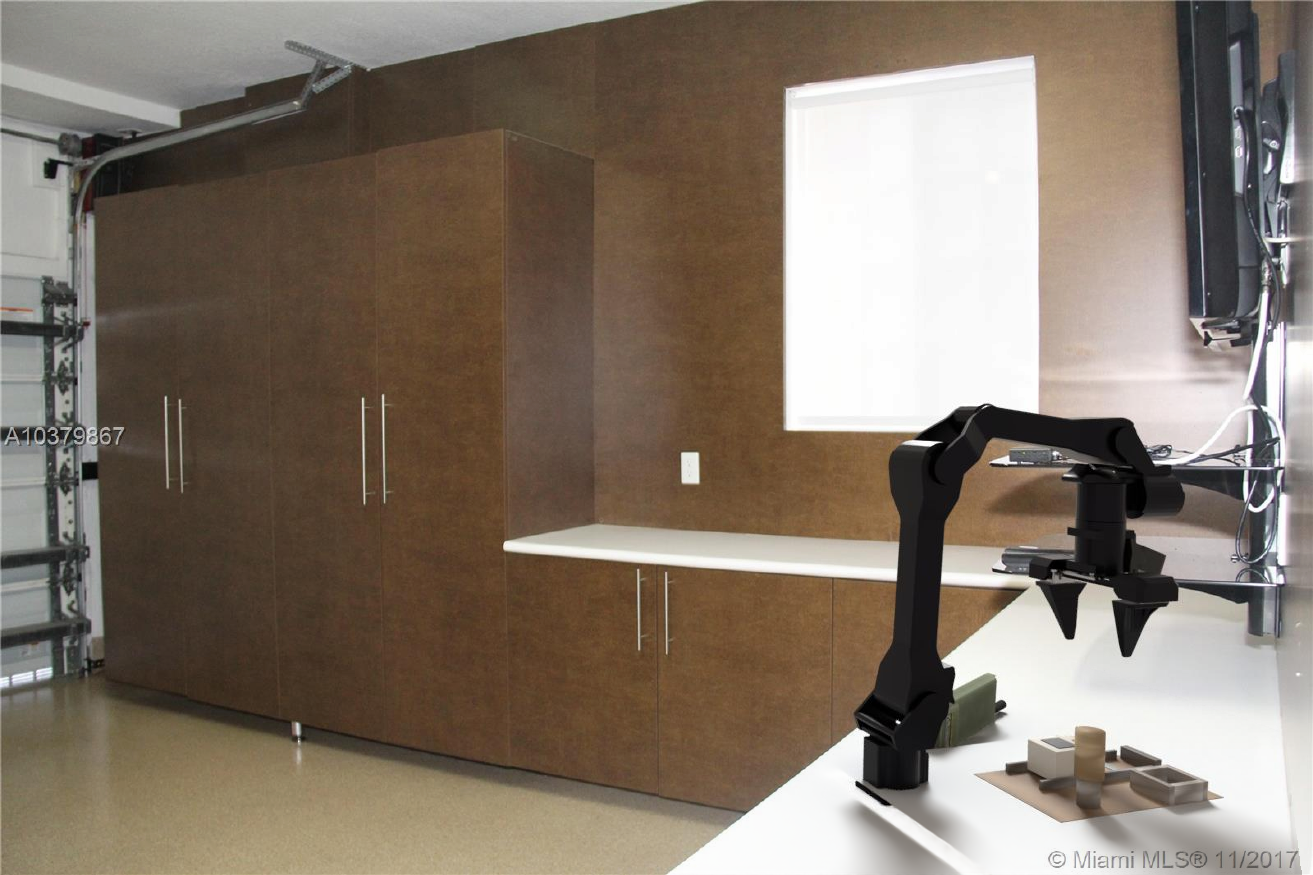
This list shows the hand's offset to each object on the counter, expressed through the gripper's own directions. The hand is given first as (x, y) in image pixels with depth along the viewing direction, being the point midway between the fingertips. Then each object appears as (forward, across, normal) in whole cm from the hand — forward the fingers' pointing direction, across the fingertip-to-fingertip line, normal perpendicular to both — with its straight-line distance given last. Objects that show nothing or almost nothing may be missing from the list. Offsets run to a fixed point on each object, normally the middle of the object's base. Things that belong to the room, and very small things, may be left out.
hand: (1097, 647), depth 121 cm
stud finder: (+13, -4, +9) cm, 16 cm away
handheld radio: (+15, +16, +6) cm, 23 cm away
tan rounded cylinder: (+13, -12, +12) cm, 22 cm away
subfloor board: (+15, -8, +7) cm, 18 cm away
